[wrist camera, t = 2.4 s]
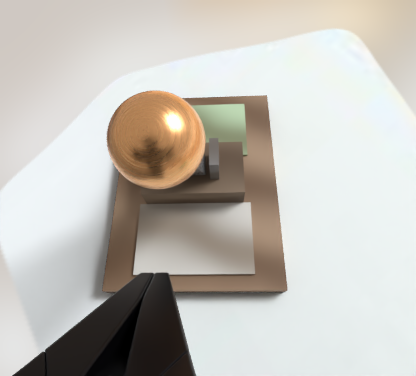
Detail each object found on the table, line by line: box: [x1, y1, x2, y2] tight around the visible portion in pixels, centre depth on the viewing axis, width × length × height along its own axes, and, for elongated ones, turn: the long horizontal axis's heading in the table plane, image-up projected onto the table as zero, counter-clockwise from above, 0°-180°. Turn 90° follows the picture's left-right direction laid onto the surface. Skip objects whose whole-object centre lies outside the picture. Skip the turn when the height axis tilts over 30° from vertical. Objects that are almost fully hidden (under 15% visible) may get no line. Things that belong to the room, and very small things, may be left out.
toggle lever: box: [107, 91, 206, 189], centre depth 14 cm, size 3×3×12 cm
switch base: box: [102, 95, 287, 293], centre depth 21 cm, size 16×12×5 cm
